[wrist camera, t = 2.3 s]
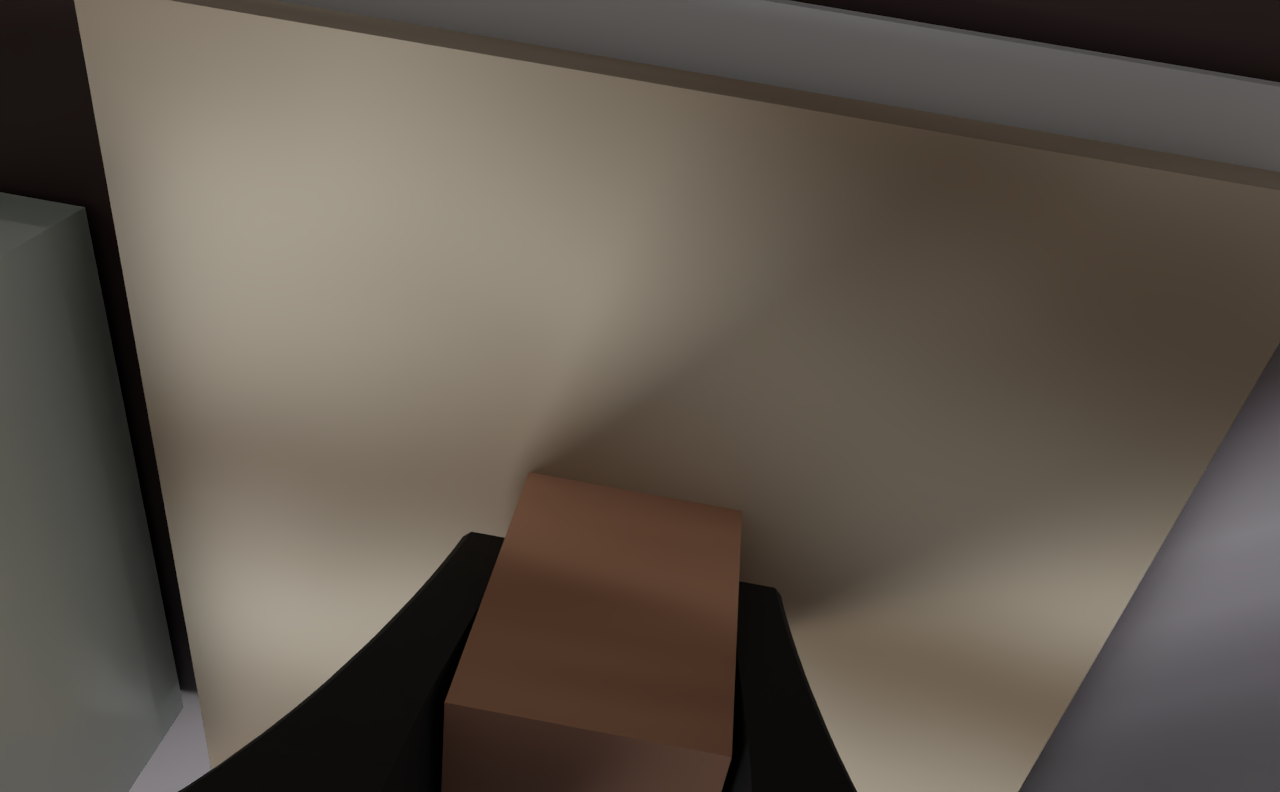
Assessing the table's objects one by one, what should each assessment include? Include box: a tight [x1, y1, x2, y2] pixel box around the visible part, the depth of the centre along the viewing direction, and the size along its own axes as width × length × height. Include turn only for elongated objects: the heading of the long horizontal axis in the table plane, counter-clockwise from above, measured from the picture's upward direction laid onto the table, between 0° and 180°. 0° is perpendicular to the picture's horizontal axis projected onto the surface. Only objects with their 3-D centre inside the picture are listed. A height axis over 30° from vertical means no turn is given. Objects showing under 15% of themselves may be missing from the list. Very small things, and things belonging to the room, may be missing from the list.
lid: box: [74, 0, 1280, 792], centre depth 12 cm, size 14×14×5 cm
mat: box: [275, 0, 1280, 172], centre depth 15 cm, size 16×16×1 cm
